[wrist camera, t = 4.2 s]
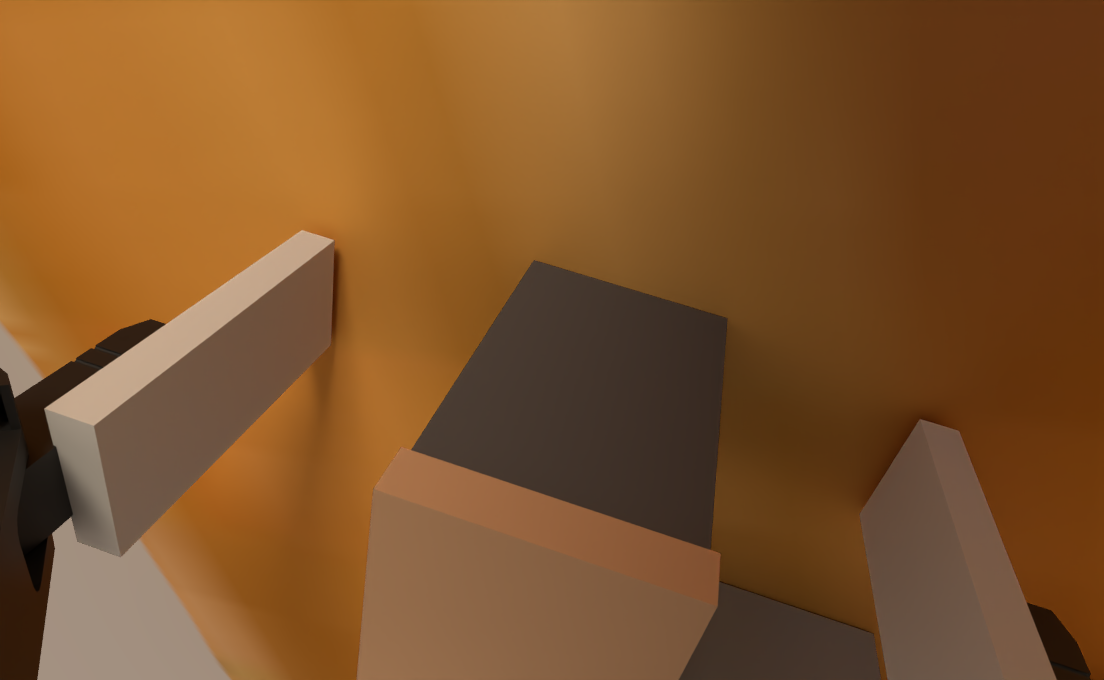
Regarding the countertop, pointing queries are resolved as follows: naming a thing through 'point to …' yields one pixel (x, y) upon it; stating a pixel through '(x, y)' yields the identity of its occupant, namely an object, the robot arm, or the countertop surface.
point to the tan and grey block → (555, 498)
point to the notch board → (778, 644)
